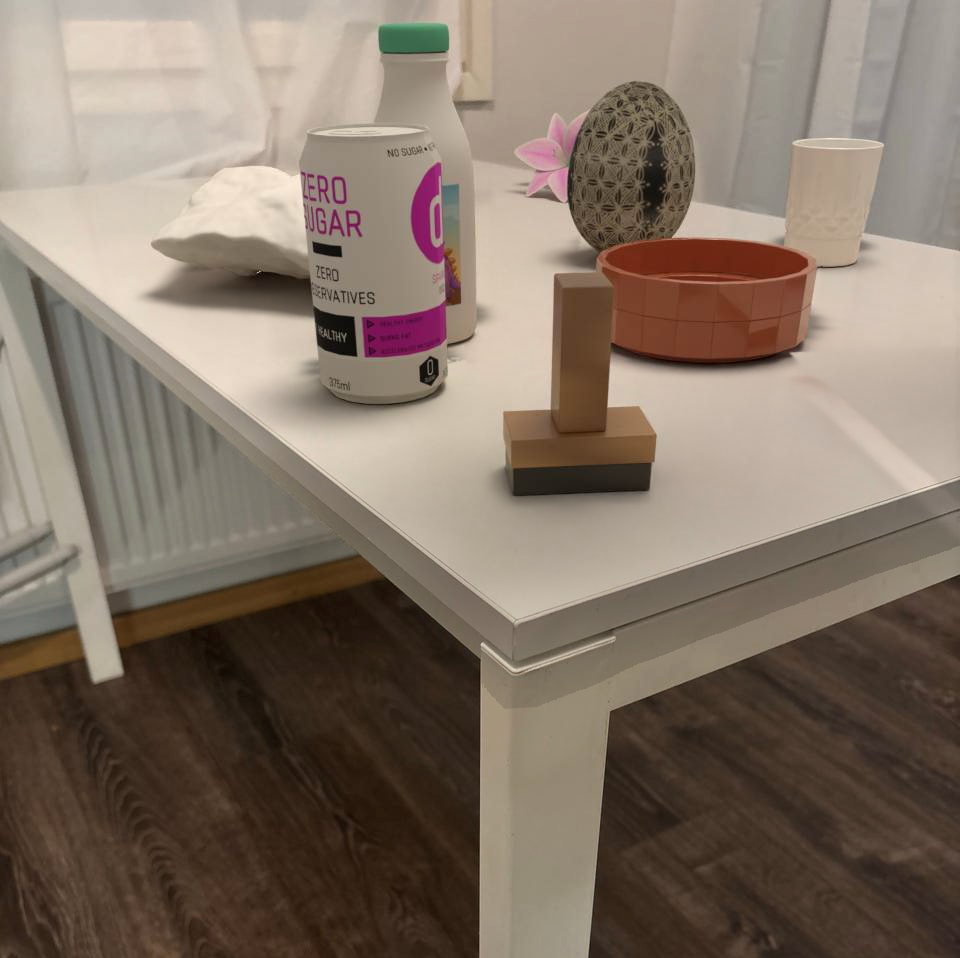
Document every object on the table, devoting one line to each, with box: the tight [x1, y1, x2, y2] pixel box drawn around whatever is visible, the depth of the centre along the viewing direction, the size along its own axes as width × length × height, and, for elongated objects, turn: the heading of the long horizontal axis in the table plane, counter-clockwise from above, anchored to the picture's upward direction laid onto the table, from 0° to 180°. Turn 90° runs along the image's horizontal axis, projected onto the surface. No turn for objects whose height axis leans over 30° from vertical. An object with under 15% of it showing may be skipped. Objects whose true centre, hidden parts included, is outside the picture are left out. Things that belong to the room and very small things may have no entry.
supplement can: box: [298, 122, 449, 405], centre depth 62 cm, size 8×8×15 cm
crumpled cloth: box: [150, 165, 311, 280], centre depth 91 cm, size 24×35×9 cm
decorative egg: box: [567, 80, 696, 254], centre depth 94 cm, size 12×12×15 cm
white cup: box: [783, 137, 885, 268], centre depth 93 cm, size 8×8×10 cm
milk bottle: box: [373, 22, 477, 345], centre depth 71 cm, size 8×8×20 cm
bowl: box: [595, 236, 818, 364], centre depth 73 cm, size 15×15×6 cm
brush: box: [502, 271, 658, 496], centre depth 50 cm, size 7×4×10 cm, turn 94°
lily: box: [513, 108, 592, 204], centre depth 128 cm, size 12×12×10 cm
